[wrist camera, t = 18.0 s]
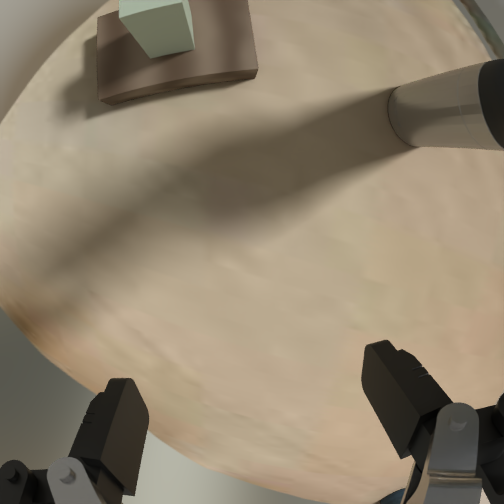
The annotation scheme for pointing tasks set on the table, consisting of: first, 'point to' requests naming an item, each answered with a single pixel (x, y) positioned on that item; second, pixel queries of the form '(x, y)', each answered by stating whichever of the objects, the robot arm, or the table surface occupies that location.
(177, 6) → the sage block
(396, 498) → the canister
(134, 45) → the walnut base
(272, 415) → the table surface
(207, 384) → the table surface
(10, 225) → the table surface
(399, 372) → the robot arm
